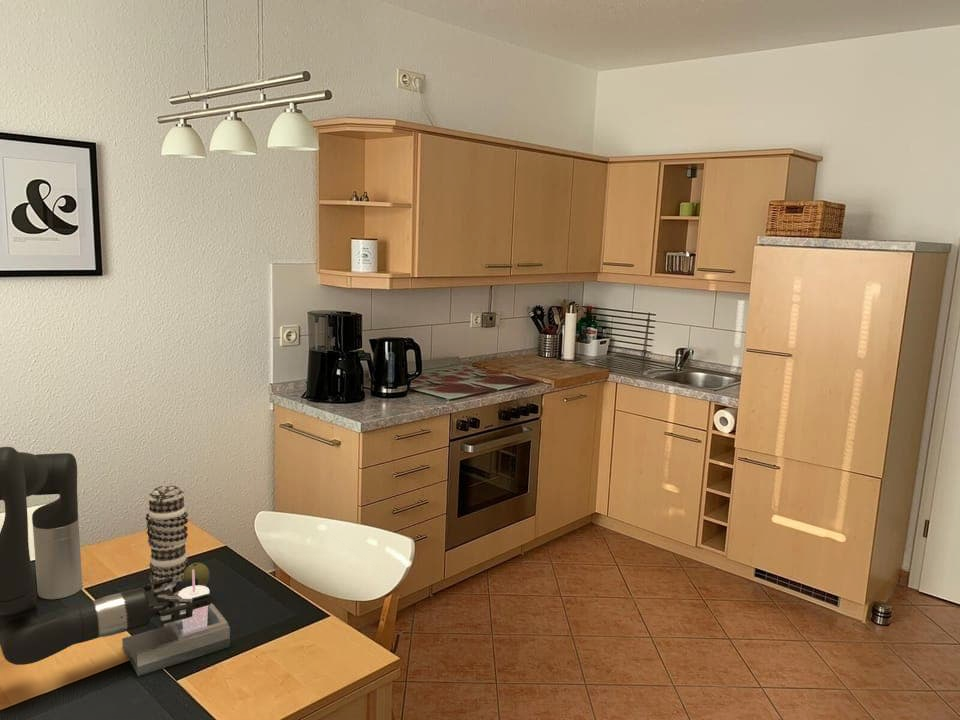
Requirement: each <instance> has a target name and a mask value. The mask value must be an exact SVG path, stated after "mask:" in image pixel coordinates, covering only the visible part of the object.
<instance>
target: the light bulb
mask: <svg viewBox="0 0 960 720" xmlns="http://www.w3.org/2000/svg"><path fill="white" fill-rule="evenodd" d="M193 569H194V572H195V577H196V578H197V579H198V585H201V586H206V587H207V584H208V582H209V580H210V569H209V568H208V566H206V565H205V564H204V563H202V562H194V563H191V564H189V565H188V567H187V568H186V570H185V572H184V575H183V579H184V580H186V579H190V578H192V570H193Z"/></svg>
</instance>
